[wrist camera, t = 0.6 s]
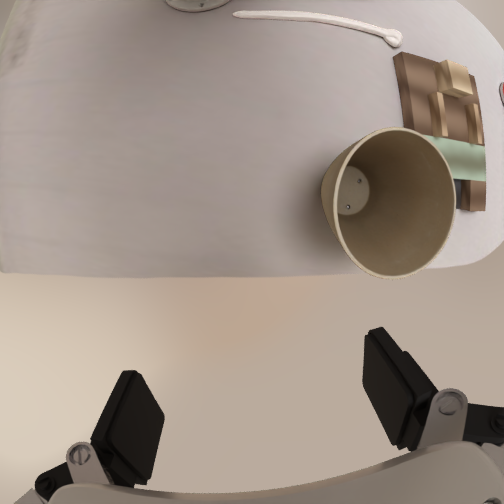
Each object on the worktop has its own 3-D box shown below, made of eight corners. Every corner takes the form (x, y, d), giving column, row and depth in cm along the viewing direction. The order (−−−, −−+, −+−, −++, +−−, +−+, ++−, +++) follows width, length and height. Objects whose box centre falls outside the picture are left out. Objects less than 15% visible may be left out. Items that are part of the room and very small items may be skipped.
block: (433, 65, 29) (447, 59, 25) (453, 72, 29) (467, 67, 25) (438, 92, 31) (453, 87, 27) (458, 97, 31) (472, 94, 27)
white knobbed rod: (232, 31, 31) (232, 22, 28) (232, 12, 30) (232, 3, 27) (400, 52, 32) (408, 47, 29) (397, 33, 31) (404, 28, 28)
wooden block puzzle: (392, 57, 32) (409, 46, 26) (464, 78, 32) (482, 74, 27) (407, 209, 39) (426, 215, 34) (475, 208, 39) (494, 213, 34)
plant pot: (289, 232, 40) (318, 271, 24) (305, 130, 36) (346, 106, 20) (378, 247, 41) (437, 285, 25) (395, 155, 37) (465, 154, 21)
